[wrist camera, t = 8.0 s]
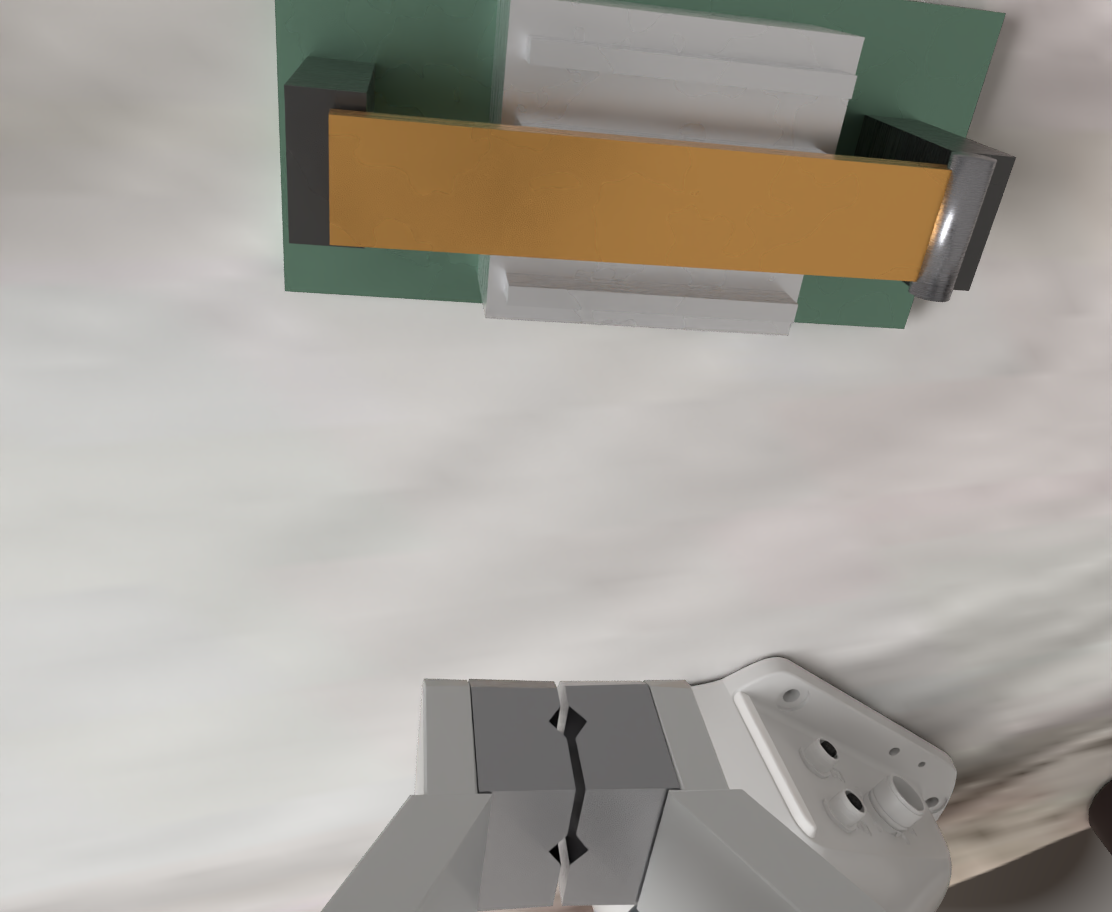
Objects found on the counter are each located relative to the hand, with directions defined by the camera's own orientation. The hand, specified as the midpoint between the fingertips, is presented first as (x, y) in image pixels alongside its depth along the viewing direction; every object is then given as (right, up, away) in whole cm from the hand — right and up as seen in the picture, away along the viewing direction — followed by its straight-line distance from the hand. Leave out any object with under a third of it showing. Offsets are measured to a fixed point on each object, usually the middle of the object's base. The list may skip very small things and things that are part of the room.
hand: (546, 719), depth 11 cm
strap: (+3, +10, +14) cm, 18 cm away
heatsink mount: (+3, +14, +21) cm, 25 cm away
